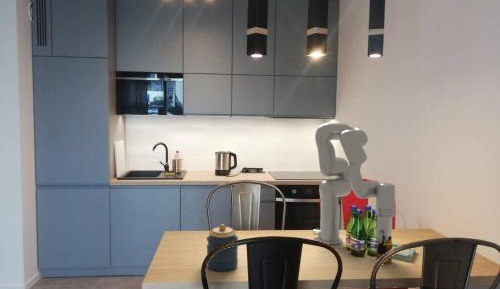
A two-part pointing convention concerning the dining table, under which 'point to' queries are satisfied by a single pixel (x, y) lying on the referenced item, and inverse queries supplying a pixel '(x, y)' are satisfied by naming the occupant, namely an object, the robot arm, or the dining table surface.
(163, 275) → the dining table surface
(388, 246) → the condiment
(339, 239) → the robot arm
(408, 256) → the socket plate
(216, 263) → the canister
